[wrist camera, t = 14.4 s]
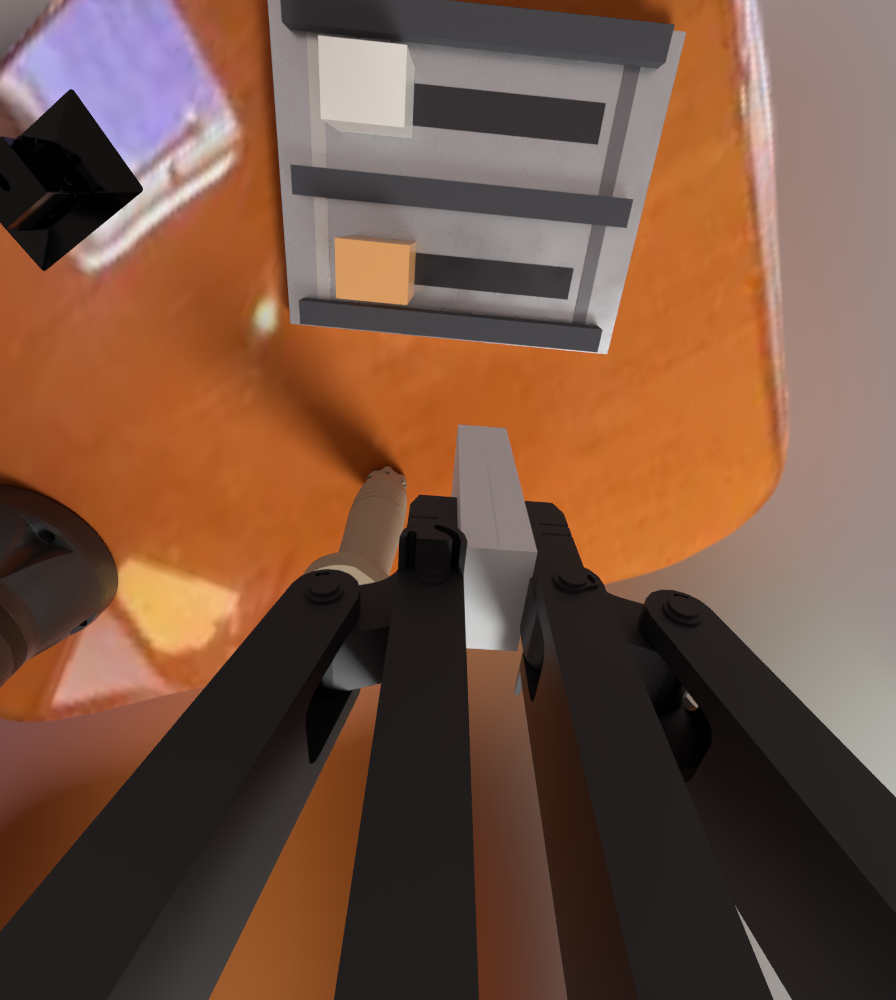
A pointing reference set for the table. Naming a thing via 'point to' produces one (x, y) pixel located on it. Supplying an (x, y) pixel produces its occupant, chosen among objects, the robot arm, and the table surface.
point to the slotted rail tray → (438, 21)
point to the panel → (479, 176)
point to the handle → (371, 529)
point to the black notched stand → (61, 181)
